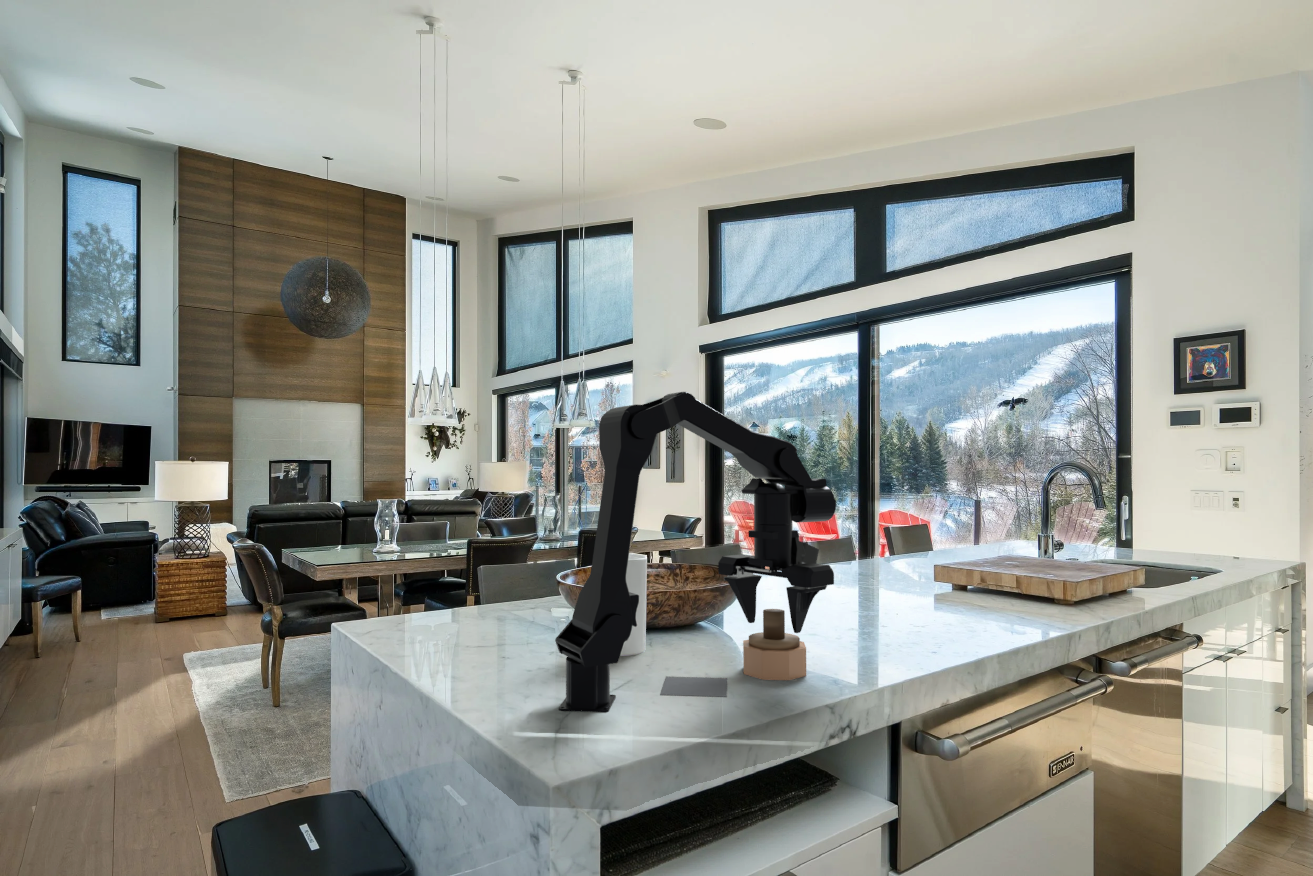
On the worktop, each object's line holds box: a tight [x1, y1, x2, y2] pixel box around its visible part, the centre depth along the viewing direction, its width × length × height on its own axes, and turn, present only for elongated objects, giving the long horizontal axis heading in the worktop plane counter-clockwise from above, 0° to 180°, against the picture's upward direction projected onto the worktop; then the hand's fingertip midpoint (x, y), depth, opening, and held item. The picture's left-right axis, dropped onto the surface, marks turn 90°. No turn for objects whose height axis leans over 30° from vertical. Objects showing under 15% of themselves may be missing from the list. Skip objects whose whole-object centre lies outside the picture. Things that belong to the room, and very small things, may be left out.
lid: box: [748, 608, 801, 650], centre depth 114 cm, size 8×8×5 cm
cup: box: [620, 553, 648, 657], centre depth 128 cm, size 8×8×16 cm
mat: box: [659, 675, 728, 698], centre depth 106 cm, size 9×9×1 cm
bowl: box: [742, 639, 807, 681], centre depth 114 cm, size 9×9×4 cm
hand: (773, 627), depth 114 cm, fingers open, 9 cm apart
